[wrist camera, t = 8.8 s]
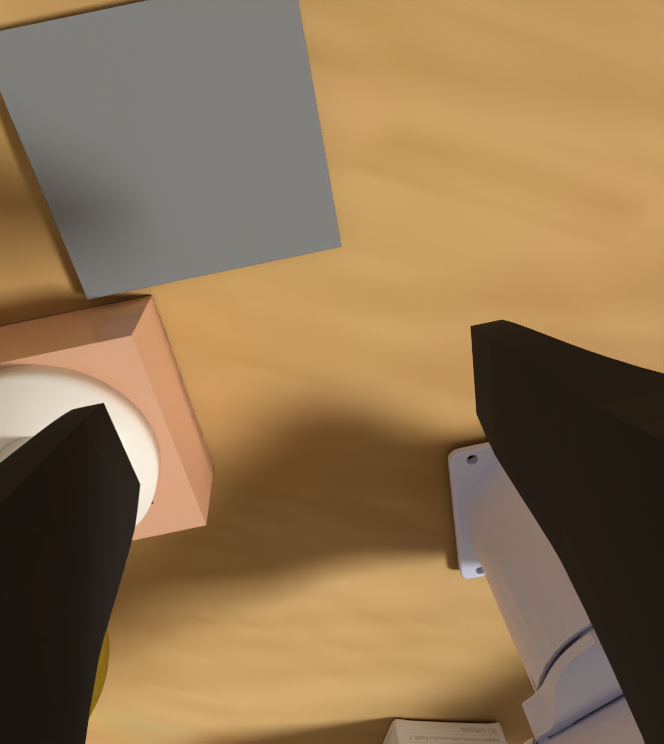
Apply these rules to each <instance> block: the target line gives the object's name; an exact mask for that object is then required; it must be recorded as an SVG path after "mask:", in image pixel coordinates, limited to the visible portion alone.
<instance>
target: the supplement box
mask: <svg viewBox="0 0 664 744" xmlns="http://www.w3.org/2000/svg"><path fill="white" fill-rule="evenodd" d="M383 744H507V742H506V739H505V736H504V733H503V730H502V727H501V725H500V723H498V722H495V723H486V724H482V723H449V722H430V721H409V720H404V719H395V720H393V722H392V724H391V726H390V728H389V730H388V733H387V735H386V737H385V739H384V741H383Z"/></svg>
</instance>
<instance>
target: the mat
mask: <svg viewBox="0 0 664 744" xmlns="http://www.w3.org/2000/svg"><path fill="white" fill-rule="evenodd" d="M0 93H1V95H2V97H3V100H4V102H5V105H6V107H7V109H8V112H9V114H10V116H11V119H12V121H13V124H14V126H15V128H16V131H17V133H18V135H19V138H20V140H21V142H22V145H23V147H24V150H25V152H26V154H27V157H28V159H29V161H30V164H31V166H32V169H33V171H34V173H35V176H36V178H37V180H38V183H39V185H40V188H41V190H42V192H43V195H44V197H45V199H46V202H47V204H48V207H49V209H50V211H51V214H52V216H53V218H54V221H55V223H56V226H57V228H58V230H59V233H60V235H61V237H62V240H63V242H64V245H65V247H66V249H67V252H68V254H69V256H70V259H71V261H72V264H73V266H74V268H75V271H76V273H77V275H78V278H79V280H80V283H81V285H82V287H83V290H84V292H85V294H86V297H87V299H93V298H98V297H103V296H108V295H112V294H117V293H122V292H127V291H132V290H136V289H141V288H146V287H151V286H156V285H160V284H165V283H170V282H175V281H180V280H184V279H189V278H194V277H199V276H204V275H208V274H213V273H218V272H223V271H228V270H232V269H237V268H242V267H247V266H252V265H256V264H261V263H266V262H271V261H276V260H280V259H285V258H290V257H295V256H300V255H304V254H309V253H314V252H319V251H324V250H328V249H333V248H338V247H342V246H341V240H340V234H339V229H338V223H337V217H336V212H335V206H334V200H333V195H332V189H331V183H330V178H329V172H328V166H327V161H326V155H325V149H324V144H323V138H322V132H321V127H320V121H319V115H318V110H317V104H316V98H315V93H314V87H313V81H312V76H311V70H310V65H309V59H308V53H307V48H306V42H305V36H304V31H303V25H302V19H301V14H300V8H299V2H298V0H147V1H142V2H137V3H132V4H127V5H123V6H118V7H113V8H108V9H103V10H99V11H94V12H89V13H84V14H79V15H75V16H70V17H65V18H60V19H55V20H51V21H46V22H41V23H36V24H31V25H27V26H22V27H17V28H12V29H7V30H3V31H0Z"/></svg>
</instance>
